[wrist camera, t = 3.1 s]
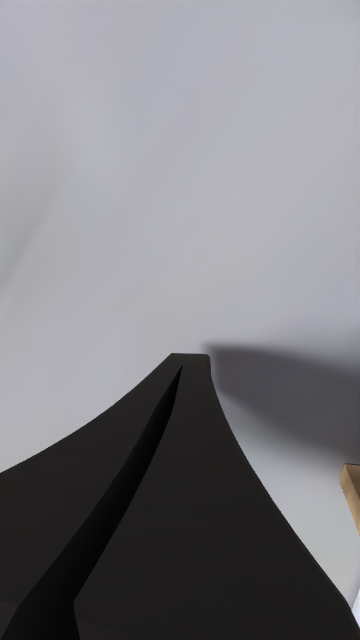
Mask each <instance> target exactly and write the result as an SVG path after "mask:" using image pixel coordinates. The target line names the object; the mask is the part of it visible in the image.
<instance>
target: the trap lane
mask: <svg viewBox="0 0 360 640" xmlns="http://www.w3.org/2000/svg"><path fill="white" fill-rule="evenodd" d="M340 484H341V487H342V490H343V492H344V495H345V498H346V500H347V503H348V506H349V508H350V511H351V514H352V516H353V519H354V522H355V524H356V527H357V530H358V532H359V535H360V465H349V464H344V468H343V472H342V477H341V481H340Z"/></svg>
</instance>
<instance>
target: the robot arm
mask: <svg viewBox="0 0 360 640" xmlns="http://www.w3.org/2000/svg"><path fill="white" fill-rule="evenodd" d="M0 640H360V589H359V592H358V594H357V597H356V600H355V602H354V605H353V608H352V610H351V609H350V607H349V605H348V603H347V601H346V600H345V598H344V597H343V595H342V594H341V593H340V591H339V590H338V589H337V587H336V586H335V585H334V584H333V582H332V581H331V580H330V578H329V577H328V576H327V574H326V573H325V572H324V571H323V569H322V568H321V567H320V565H319V564H318V563H317V561H316V560H315V559H314V557H313V556H312V555H311V553H310V552H309V551H308V549H307V548H306V547H305V545H304V544H303V542H302V541H301V540H300V538H299V537H298V536H297V534H296V533H295V532H294V530H293V529H292V527H291V526H290V524H289V523H288V522H287V520H286V519H285V517H284V516H283V514H282V513H281V511H280V510H279V509H278V507H277V506H276V504H275V503H274V501H273V500H272V498H271V497H270V495H269V494H268V492H267V490H266V489H265V487H264V486H263V484H262V482H261V481H260V479H259V478H258V476H257V475H256V473H255V471H254V470H253V468H252V467H251V465H250V463H249V462H248V460H247V458H246V456H245V455H244V453H243V451H242V449H241V447H240V446H239V444H238V442H237V440H236V438H235V436H234V434H233V432H232V430H231V428H230V426H229V424H228V422H227V420H226V417H225V415H224V413H223V410H222V408H221V405H220V403H219V400H218V397H217V394H216V391H215V388H214V385H213V382H212V378H211V364H210V357H209V356H208V355H207V354H182V353H171V354H170V355H169V356H168V357H167V358H166V359H165V360H164V361H163V362H162V363H161V364H160V365H159V366H157V367H156V368H155V369H154V370H153V371H152V372H151V373H150V374H149V375H148V376H147V377H146V378H145V379H144V380H142V381H141V382H140V383H139V384H138V385H137V386H136V387H135V388H133V389H132V390H131V391H130V392H129V393H127V394H126V395H125V396H124V397H122V398H121V399H120V400H119V401H118V402H116V403H115V404H114V405H113V406H111V407H110V408H109V409H107V410H106V411H105V412H103V413H102V414H100V415H99V416H98V417H96V418H95V419H93V420H92V421H90V422H89V423H87V424H86V425H84V426H83V427H81V428H80V429H78V430H77V431H75V432H73V433H72V434H70V435H68V436H67V437H65V438H63V439H62V440H60V441H58V442H57V443H55V444H53V445H52V446H50V447H48V448H46V449H45V450H43V451H41V452H40V453H38V454H36V455H34V456H32V457H30V458H29V459H27V460H25V461H23V462H21V463H19V464H17V465H15V466H13V467H11V468H9V469H7V470H5V471H3V472H1V473H0Z"/></svg>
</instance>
